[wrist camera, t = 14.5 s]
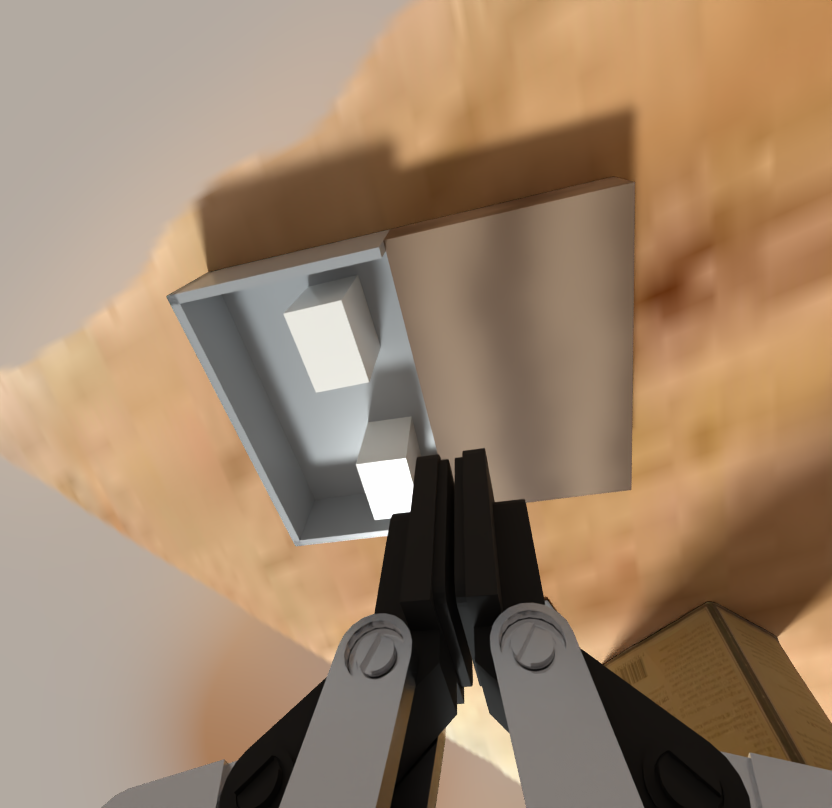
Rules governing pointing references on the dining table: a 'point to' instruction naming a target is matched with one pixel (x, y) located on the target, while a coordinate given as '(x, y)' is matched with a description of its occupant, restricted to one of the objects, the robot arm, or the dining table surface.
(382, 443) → the tile
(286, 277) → the tray
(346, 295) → the white rectangular block
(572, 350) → the board
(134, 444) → the dining table surface
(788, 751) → the food packaging
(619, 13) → the dining table surface
